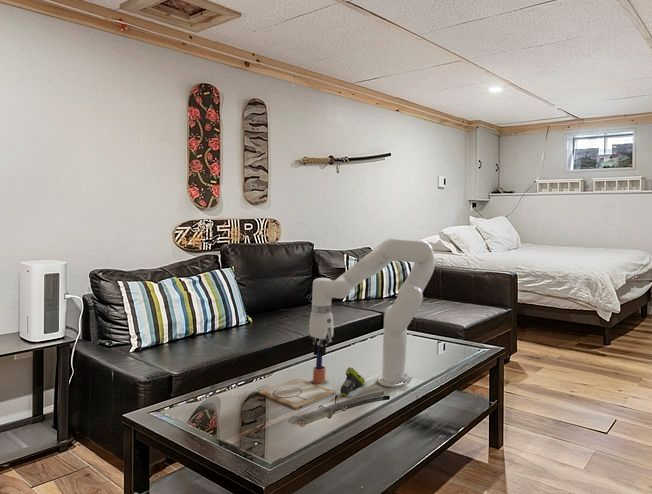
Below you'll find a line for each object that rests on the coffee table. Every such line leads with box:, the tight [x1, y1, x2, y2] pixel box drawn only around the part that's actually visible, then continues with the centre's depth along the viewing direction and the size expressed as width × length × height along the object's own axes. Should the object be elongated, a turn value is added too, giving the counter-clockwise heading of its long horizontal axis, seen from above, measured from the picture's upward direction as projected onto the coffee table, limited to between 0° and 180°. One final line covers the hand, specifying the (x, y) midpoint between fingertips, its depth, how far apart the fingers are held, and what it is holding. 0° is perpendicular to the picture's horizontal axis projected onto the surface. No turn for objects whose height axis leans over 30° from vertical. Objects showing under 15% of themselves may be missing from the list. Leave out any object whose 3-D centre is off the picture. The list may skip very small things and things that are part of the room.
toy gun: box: [339, 366, 366, 398], centre depth 189 cm, size 2×14×10 cm
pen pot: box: [312, 365, 327, 384], centre depth 197 cm, size 5×5×6 cm
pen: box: [315, 341, 323, 369], centre depth 197 cm, size 2×2×12 cm
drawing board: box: [258, 378, 336, 410], centre depth 185 cm, size 22×18×1 cm
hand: (319, 354), depth 197 cm, fingers closed on pen, 2 cm apart
